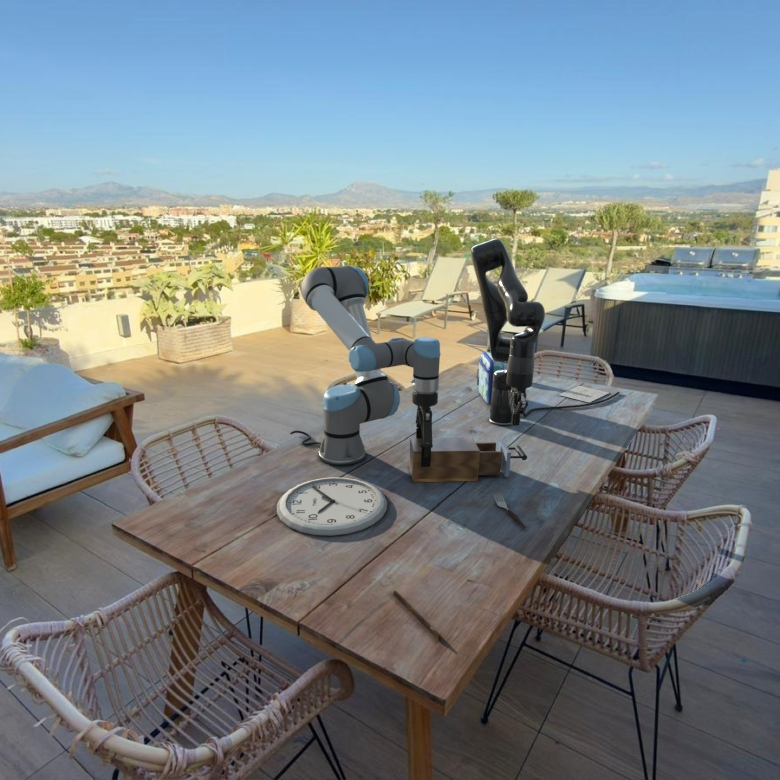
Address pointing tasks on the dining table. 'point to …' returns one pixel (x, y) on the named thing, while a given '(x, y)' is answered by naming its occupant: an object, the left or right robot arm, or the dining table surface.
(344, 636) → the dining table surface
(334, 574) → the dining table surface
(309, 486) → the wall clock
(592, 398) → the invitation card
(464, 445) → the cabinet
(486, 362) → the lunch box
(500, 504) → the fork
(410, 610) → the dark brown thin rod
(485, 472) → the drawer
